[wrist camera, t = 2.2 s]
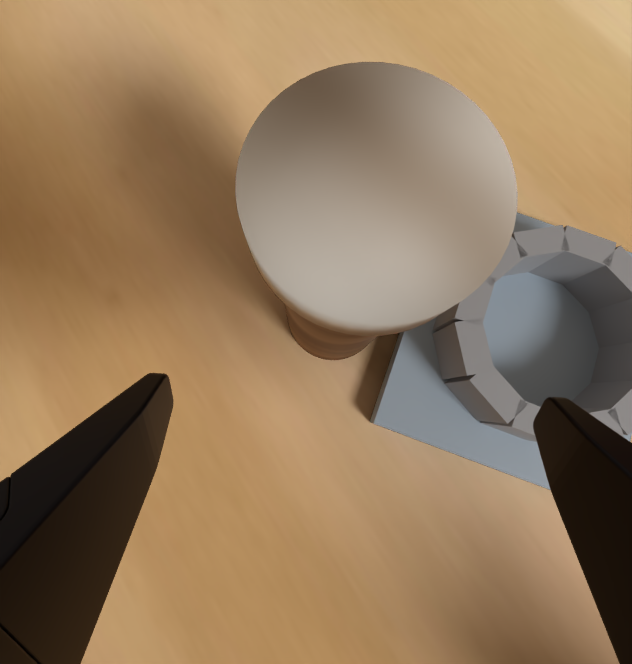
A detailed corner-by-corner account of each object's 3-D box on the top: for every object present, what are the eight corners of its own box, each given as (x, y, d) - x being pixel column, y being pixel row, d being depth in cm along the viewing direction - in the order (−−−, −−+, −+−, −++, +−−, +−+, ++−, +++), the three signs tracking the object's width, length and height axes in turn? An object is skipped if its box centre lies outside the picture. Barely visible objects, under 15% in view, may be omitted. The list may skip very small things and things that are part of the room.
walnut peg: (340, 395, 21) (401, 386, 8) (252, 320, 21) (174, 197, 8) (411, 309, 22) (571, 173, 9) (326, 239, 22) (357, 15, 9)
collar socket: (595, 507, 20) (672, 534, 16) (369, 422, 20) (386, 427, 16) (649, 273, 22) (728, 244, 18) (444, 200, 23) (475, 155, 18)
